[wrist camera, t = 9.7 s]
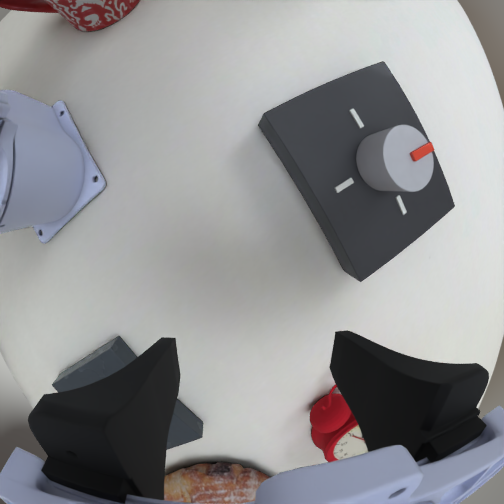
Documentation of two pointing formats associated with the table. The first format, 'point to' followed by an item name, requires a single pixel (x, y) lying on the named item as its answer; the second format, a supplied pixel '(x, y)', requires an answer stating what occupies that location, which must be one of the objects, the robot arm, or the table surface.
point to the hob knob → (396, 159)
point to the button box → (111, 361)
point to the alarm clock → (336, 428)
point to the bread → (213, 484)
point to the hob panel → (354, 167)
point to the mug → (78, 10)
